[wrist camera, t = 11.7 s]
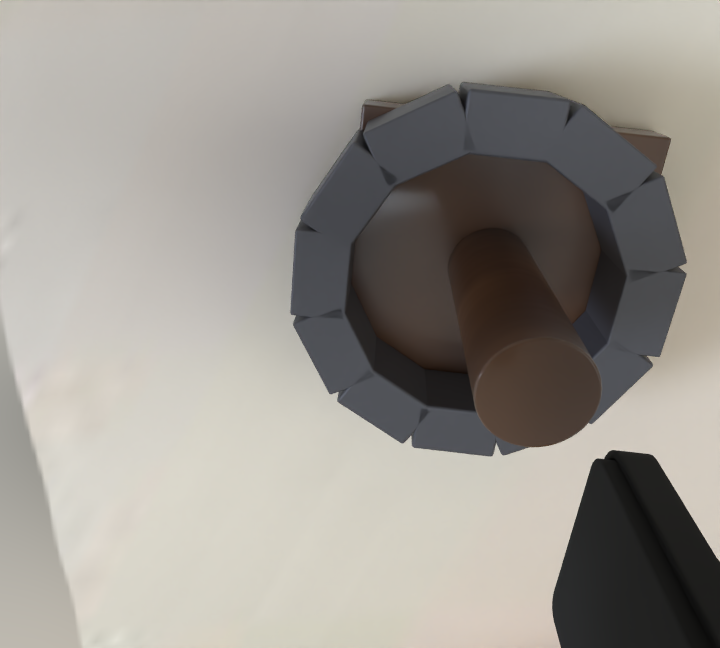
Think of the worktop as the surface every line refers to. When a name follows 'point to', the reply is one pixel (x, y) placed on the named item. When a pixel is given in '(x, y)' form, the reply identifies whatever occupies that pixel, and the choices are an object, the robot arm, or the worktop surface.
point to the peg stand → (491, 284)
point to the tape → (434, 149)
